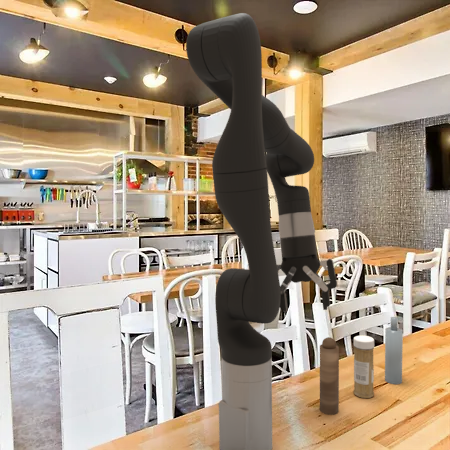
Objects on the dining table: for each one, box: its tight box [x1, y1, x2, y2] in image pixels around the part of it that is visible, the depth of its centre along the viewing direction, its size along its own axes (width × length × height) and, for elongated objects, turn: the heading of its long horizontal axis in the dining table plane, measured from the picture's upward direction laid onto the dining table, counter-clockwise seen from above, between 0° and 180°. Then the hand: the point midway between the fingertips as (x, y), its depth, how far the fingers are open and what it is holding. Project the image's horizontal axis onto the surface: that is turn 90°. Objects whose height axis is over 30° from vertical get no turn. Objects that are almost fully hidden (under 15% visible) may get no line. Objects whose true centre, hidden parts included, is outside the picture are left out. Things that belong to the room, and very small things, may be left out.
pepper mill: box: [319, 337, 340, 416], centre depth 92 cm, size 4×4×16 cm
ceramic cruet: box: [384, 316, 404, 385], centre depth 106 cm, size 4×4×16 cm
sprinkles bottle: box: [353, 335, 375, 399], centre depth 99 cm, size 5×5×14 cm
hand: (305, 310), depth 91 cm, fingers open, 8 cm apart
